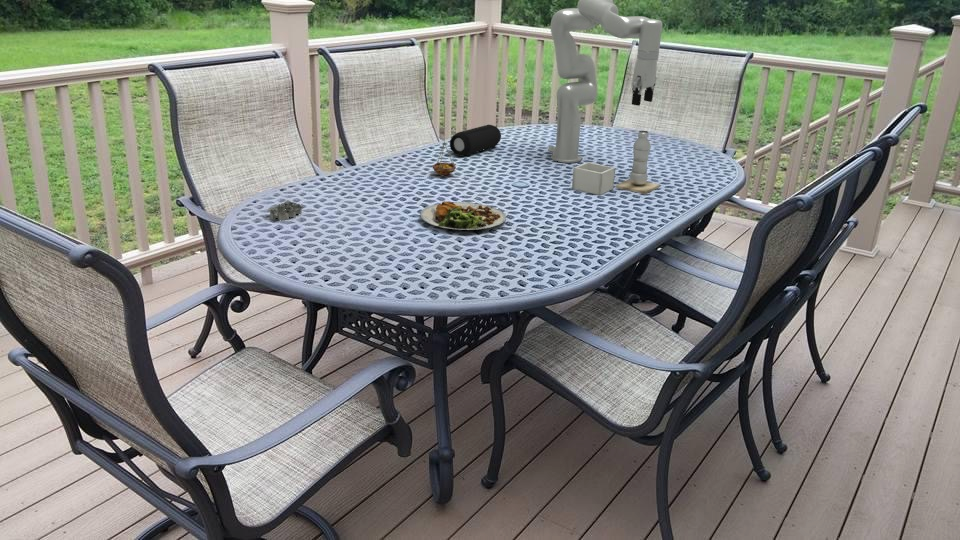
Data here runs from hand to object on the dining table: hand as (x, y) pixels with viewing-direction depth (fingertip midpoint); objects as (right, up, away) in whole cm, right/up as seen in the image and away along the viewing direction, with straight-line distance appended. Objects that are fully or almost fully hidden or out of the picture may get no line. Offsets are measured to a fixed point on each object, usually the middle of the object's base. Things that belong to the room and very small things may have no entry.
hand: (641, 103), depth 292 cm
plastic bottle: (0, -29, +6) cm, 30 cm away
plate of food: (-65, -46, -34) cm, 86 cm away
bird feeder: (-73, -25, +13) cm, 79 cm away
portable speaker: (-61, -11, +49) cm, 79 cm away
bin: (-18, -31, +3) cm, 36 cm away
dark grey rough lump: (-122, -44, -35) cm, 134 cm away
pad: (0, -30, +6) cm, 31 cm away
